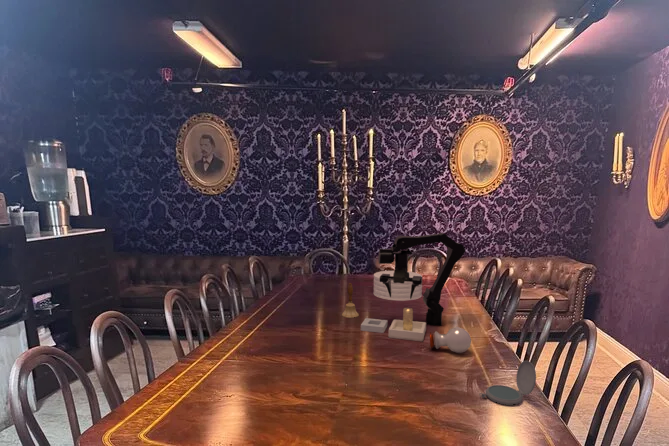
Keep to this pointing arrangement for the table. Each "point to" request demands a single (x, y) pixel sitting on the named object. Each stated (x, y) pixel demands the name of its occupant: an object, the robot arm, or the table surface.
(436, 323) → the robot arm
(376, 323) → the collar block
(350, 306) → the hand bell
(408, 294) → the plate stack
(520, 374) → the pocket watch
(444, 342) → the potion bottle
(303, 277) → the table surface
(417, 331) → the tray
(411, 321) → the brass peg
